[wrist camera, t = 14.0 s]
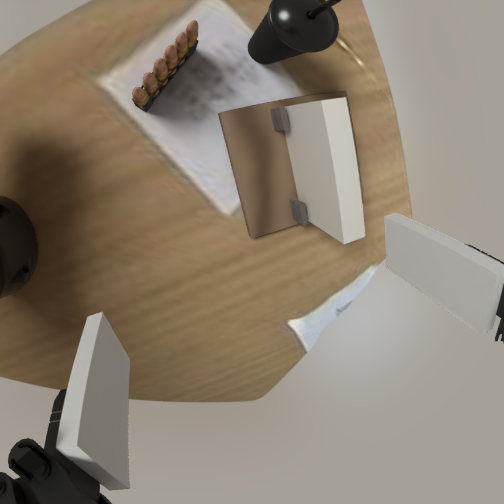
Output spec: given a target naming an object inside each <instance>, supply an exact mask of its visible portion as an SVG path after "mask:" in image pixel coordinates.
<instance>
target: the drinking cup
mask: <svg viewBox="0 0 504 504" xmlns="http://www.w3.org/2000/svg"><path fill="white" fill-rule="evenodd" d="M340 1H341V0H327V1H325V0H272V2H271V4H270V6H269V10H268V12H267V14H266V15H265V17H264V19H263V20H262V22H261V23H260V25H259V26H258V28H257V30H256V31H255V33H254V34H253V36H252V38H251V39H250V41H249V43H248V52H249V54H250V56H251V57H252V58H253V59H254V60H255V61H257V62H259V63H262V64H271V63H274V62H277V61H280V60H283V59H286V58H290V57H293V56H296V55H300V54H303V53H307V52H309V53H312V52H319V51H322V50H325V49H327V48H328V47H330V46H331V45H332V44H333V43H334V41H335V40H336V38H337V35H338V31H339V24H338V19H337V16H336V14H335V12H334V10H333V9H332V6H333V5H335V4H337V3H338V2H340Z"/></svg>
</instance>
